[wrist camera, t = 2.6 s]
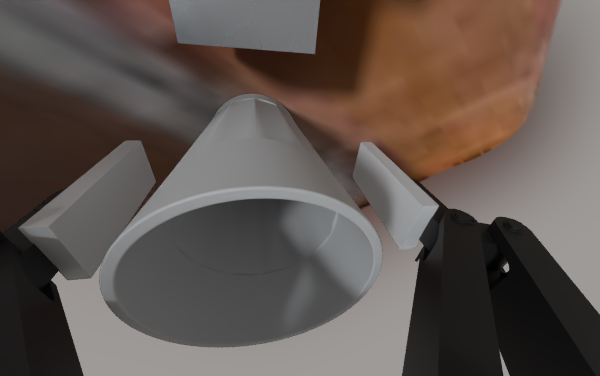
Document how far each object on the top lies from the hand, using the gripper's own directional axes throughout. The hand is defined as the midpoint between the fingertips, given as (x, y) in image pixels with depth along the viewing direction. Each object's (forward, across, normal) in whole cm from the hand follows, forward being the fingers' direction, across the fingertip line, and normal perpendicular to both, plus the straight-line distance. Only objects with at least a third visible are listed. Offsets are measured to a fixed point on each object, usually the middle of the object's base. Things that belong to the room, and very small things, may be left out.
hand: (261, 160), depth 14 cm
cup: (+4, 0, 0) cm, 4 cm away
